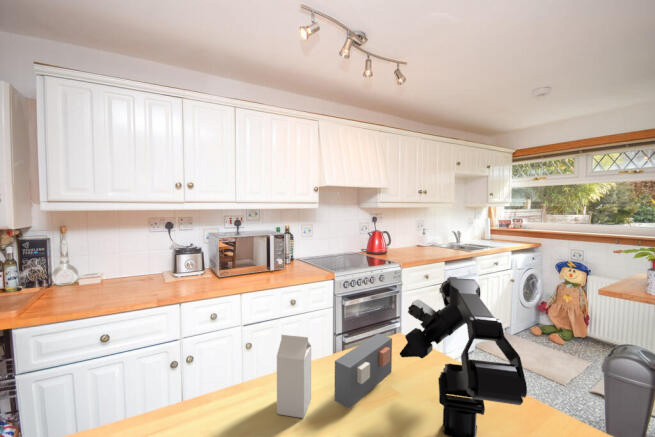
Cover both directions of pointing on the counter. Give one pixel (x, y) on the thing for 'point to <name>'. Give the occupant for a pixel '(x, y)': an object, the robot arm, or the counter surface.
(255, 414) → the counter surface
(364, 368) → the cream button
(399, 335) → the counter surface
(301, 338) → the milk carton
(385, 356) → the terracotta button
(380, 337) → the console
